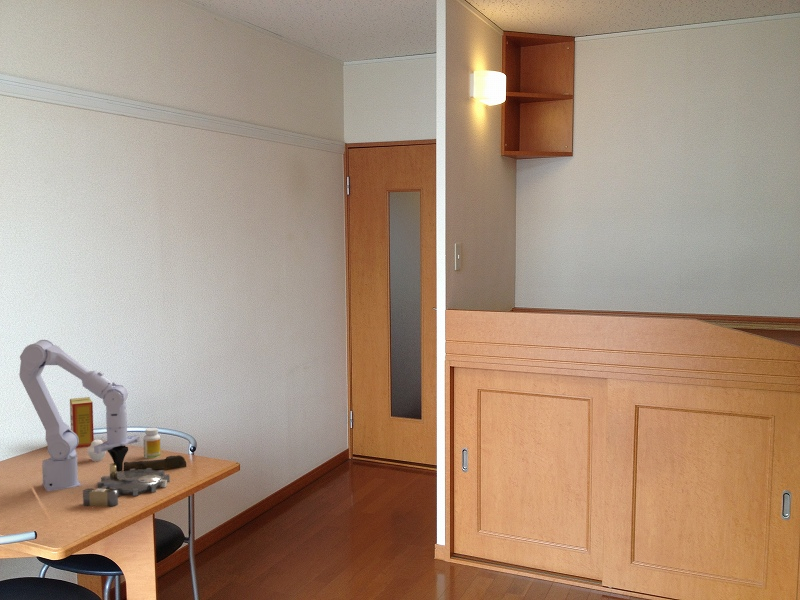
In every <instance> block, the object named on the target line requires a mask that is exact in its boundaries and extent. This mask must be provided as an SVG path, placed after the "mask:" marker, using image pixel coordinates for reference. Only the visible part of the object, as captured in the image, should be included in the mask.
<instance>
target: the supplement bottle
mask: <svg viewBox="0 0 800 600" xmlns="http://www.w3.org/2000/svg"><path fill="white" fill-rule="evenodd" d="M142 439H143V440H142V441H143V458H144V459H154V458H155V459H156V458H159V457H161V456H162V455H161V436H160V434H159V428H157V427H149V428H145V435H144V437H143V438H142Z"/></svg>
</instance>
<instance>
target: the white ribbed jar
mask: <svg viewBox="0 0 800 600" xmlns="http://www.w3.org/2000/svg"><path fill="white" fill-rule="evenodd" d="M102 443H104V442H103V440H101V439H94V441H92V443H91V445H90V446H88V448H87V449H86V450H87V451H86V452H87V454H88V456H89V457H90V459H91V461H92V462H101V461H103V460H104V458H105V456H106V454H107V451H104V452H101V453H99V454H98V453H94V446H97V445H99V444H102Z"/></svg>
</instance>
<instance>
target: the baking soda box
mask: <svg viewBox="0 0 800 600" xmlns="http://www.w3.org/2000/svg"><path fill="white" fill-rule="evenodd" d="M93 409H94V405H93V400H92V399H91V398H90V396H88V397H87V396H86V397H75V398H69V416H70V429H71V430H72V431H73V432H74V433H75V434H76V435H77V436H78V439H79V443H78V446H77V447H76V448H75V449H78V448H79V449H80V448H85V447H90V445H91V443H92V441H94V440H95V439H94V437H95V436H94V410H93Z"/></svg>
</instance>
